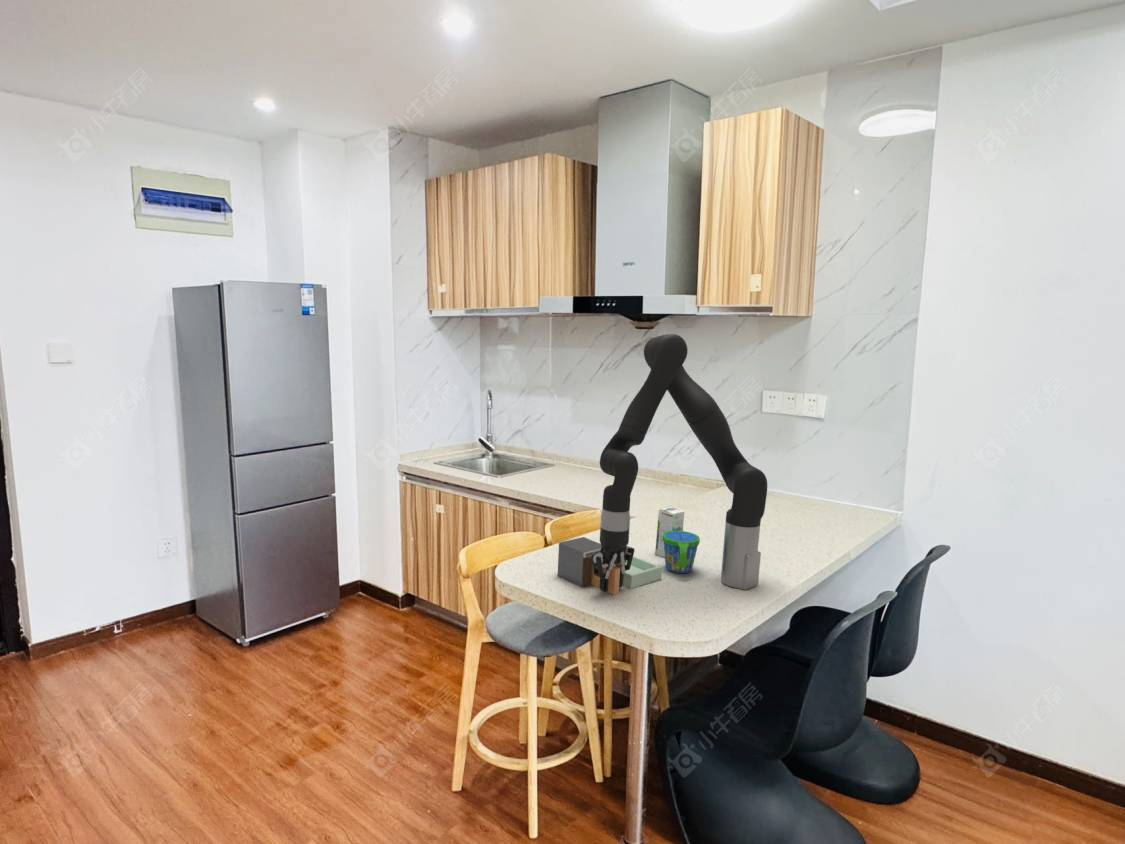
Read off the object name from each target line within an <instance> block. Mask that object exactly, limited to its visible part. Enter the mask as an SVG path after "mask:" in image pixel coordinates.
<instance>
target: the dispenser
mask: <svg viewBox="0 0 1125 844" xmlns="http://www.w3.org/2000/svg"><path fill="white" fill-rule="evenodd" d="M600 550H601V543H600V542H597V541H594V540H592V539H590V538H587V537H585V536H582V537H578V538H577V537H576V538H574V539H569V540H564V541H560V542H558V558H557V559H558V560H557V576H558V577H559V578H561V579H563V580H566V581H568V582H570V583H572V584H574V585H576V586H578V587H580V588H584V587H588V586H591V584H590V577H591V556H592V555H593V554H594V555H597V554H599V553H600Z"/></svg>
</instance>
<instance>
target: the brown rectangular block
mask: <svg viewBox="0 0 1125 844" xmlns="http://www.w3.org/2000/svg"><path fill="white" fill-rule="evenodd" d="M605 565H607V566H608V564H606V563H605ZM605 571H606V569H605V570H604V573H605ZM608 578H609V581H608V591H607V592H606V593H610V594H612V595H614V596H615V595H619V593H620V588H619V580H620V568H619V567H616V566H614V565H613V568H612V570H611V571H610V573H609V577H608ZM590 585H592V586H594V587H595V588H599V589H600V587H599V585H600V577H598V576H596V575H594V571H593V565H592V559H591V577H590Z"/></svg>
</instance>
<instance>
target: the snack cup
mask: <svg viewBox="0 0 1125 844" xmlns="http://www.w3.org/2000/svg"><path fill="white" fill-rule="evenodd" d="M700 540H701V538H700V536H699V535H697V534H695V533H693V532H690V531H685V530H683V531H667V532H665V533H664V534H663V541H664V552H665V557H664V562H665V563H664V564H665V568H666V569H667V570H668V571H669V572H672V573H675V574H688V573H691V572H692V570H693V566H694V563H695V559H696V555H697V551H698V546H699V544H700V542H701V541H700Z"/></svg>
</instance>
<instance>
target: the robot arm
mask: <svg viewBox="0 0 1125 844" xmlns="http://www.w3.org/2000/svg"><path fill="white" fill-rule="evenodd" d="M643 356H644V361H645V362H646V364H647V366H648V367H649V368H650V371H649V374H648V376H647V377H646V379H645V381H644V383H643V385H642V386H641V388H640V389H639V391H638V392H637V393H636V395H635V396H634V398H632V401H631V402H630V403H629V405H628V407H627V409H626V411H625V413H624V415H623V417H622V420H621V423H620V425H619V427H618V430H617V431H616V432H615V433H614V434H613V436H612V437H611V438H610V440H609V441H608V443H607V444H606V446H604V448H603V450H602V452H601V455H600V458H599V467H600V469H601V471H602V472H603V473H605V474H607V475H609V476H612V477H614V478H613V482H612V484H609V485H607V486H605V487H604V489H603V494H602V506H601V507H602V509H601V515H600V524H599V525H600V526H599V527H600V528H599V543H600V544H601V550H600V553H599V554H597V555H594V554H593V555H592V556H591V559H592V565H593V571H594V575H596V576H598V577H600V585H599V587H600V588H599V590H600V591H602V592H603V593H608V592H607V591H608V581H609V578H608V577H609V573H610V571H611V570H612V568H613V565H615V566H616V567H619V568H620V580H619V589H620V588H622V587H623V586H624V585H623V577H624V573H625V571H626V570H630V567H631V563H632V559H633V556H635V555H634V554H635V548H634V547H632V546H628V545H629V542H630V541H629V540H630V527H631V526H630V525H631V522H630V521H631V515H630V514H631V513H630V512H631V510H630V509H631V495H632V492H633V489H634V486H635V482H636V479H637V477H638V474H639V463H638V459H637V456H635V454H633V453H632V452H631V451H630V452H629V450H631V448H632V447H634V446H639V445H641V444H642V443H643V441H644V440H645V438H646V435H647V433H648V431H649V428H650V426H651V423H652V422H653V418H654V416H655V414H656V412H657V411H658V408H659V406H660V404H661V402H662V399H664V397H665V395H666V392H667V391H668V393H669V395H670V397H671V399H672V400H673V401H674V403H675V405H676V406H677V409H679V411H680V413H681V415H682V416H683V417H684V419H685V421H686V423H687V424H688V426H689V427H690V430H692V432H693V434H694V436H695V437H696V438H697V439H698V441H699V442H700V444H701V445H702V447H703V449H705V450H706V451H707V453H708V454H709V456H710V457H711V458H712V460H713V461H714V464H715V465H716V468H717V469H718V472H719V473H720V475H721V477H722V480H723V481H724V484H725V486H726V487H727V489H728V490H729V491H730V492H731V493H732V494H733V495H732V502H731V503H732V504H731V508H729V509H728V510H727V511H726V513H725V523H724V534H723V535H724V538H723V547H722V549H723V550H722V559H721V572H720V582H721V584H723V585H725V586H727V587H731V588H734V589H741V590H744V591H746V590H749V589H752V588H755V587H757V586H758V585H759V579H760V567H761V558H762V557H761V555H762V553H761V551H759V542H760V531H761V522H762V518H764V514H765V510H766V504H767V503H766V502H767V496H768V480H767V476H766V475H765V474H766V473H764V472H763V471H762V470H761V469H759V468H757V467H755V466H753V465H752V464H751V463H749V462H748V460H747V459H746V458H745V456H744V455H743V454H742V452H741V451H740V450H739V448H738V447H737V445H736V443H735V441H734V439H733V434H732V431H731V429H730V424H729V422H728V420H727V418H726V416H725V414H724V413H723V411H722V410H721V407H720V406H719V405H718V404H717V402H716V400H715V399H714V398H713V397H712V396H711V395H710V394H709V393H708V392H707V391H706V390H705V389H704V388H703V387H702V386H701V385H699V384H698V383H697V382H696V380H694V379H693V378H692V377H691V376H690V374H689V373H688V372H687V370H686V369H685V367H684V366H683V365H684V363H685V362H686V359H687V356H688V345H687V342H686V341H685V339H684V338H683V337H682V336H680V335H679V334H676V333H667V334H662V335H658V336H655V337H651V338H650V339H649V340H648V341H646V342H645V345H644V347H643ZM626 560H627V565H626V564H625V563H626ZM605 563H606V564H608V566H607V565H605ZM605 569H606V571H605V573H604V570H605Z"/></svg>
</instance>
